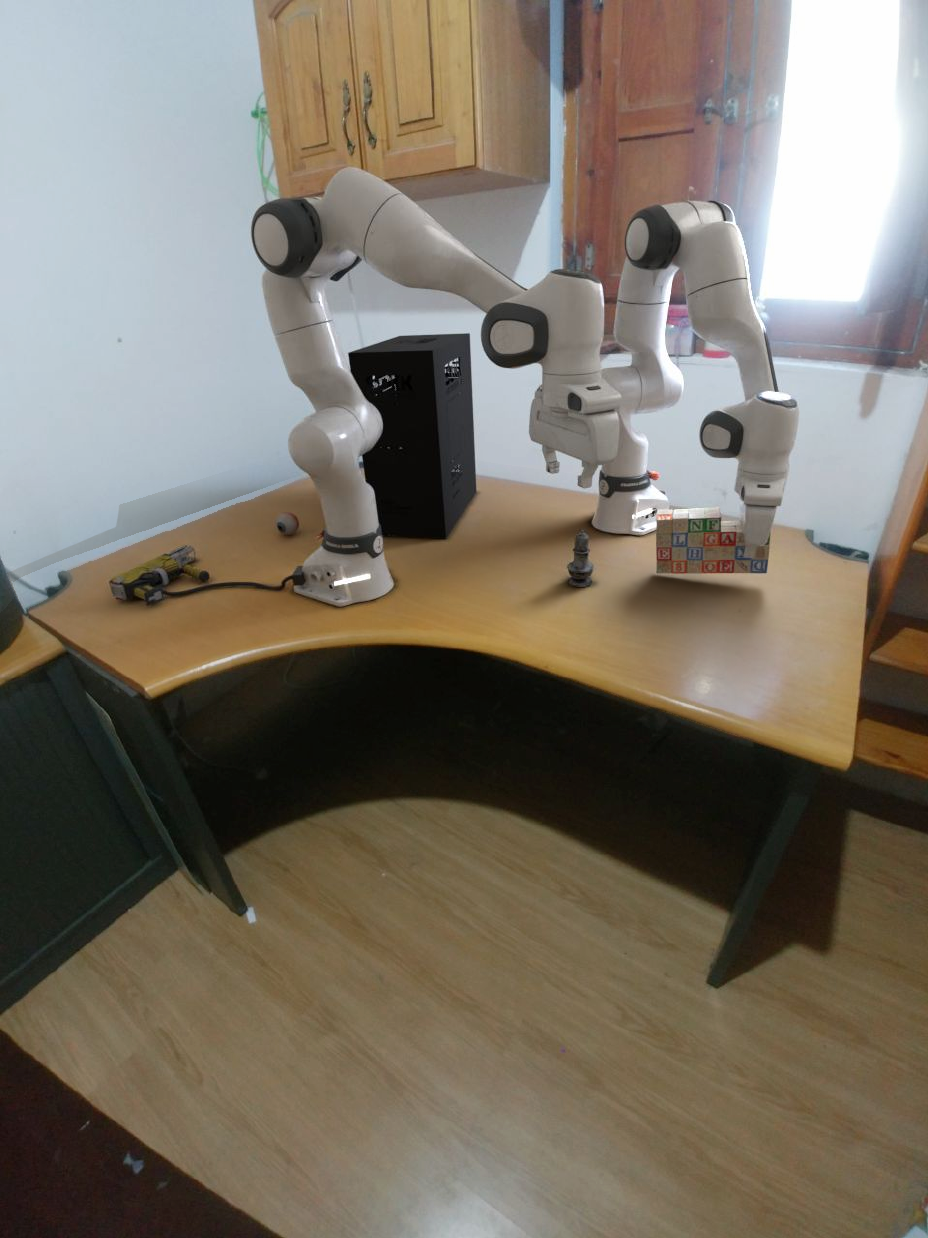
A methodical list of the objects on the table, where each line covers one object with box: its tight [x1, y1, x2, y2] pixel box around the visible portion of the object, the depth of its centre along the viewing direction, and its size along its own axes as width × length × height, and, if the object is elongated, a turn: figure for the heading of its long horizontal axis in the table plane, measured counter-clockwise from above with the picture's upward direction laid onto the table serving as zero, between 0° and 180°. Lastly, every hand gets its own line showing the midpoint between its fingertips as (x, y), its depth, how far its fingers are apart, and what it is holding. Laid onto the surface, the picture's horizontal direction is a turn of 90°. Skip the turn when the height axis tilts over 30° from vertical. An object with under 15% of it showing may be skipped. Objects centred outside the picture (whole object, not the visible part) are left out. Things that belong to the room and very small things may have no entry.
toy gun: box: [108, 544, 210, 607], centre depth 141 cm, size 5×24×15 cm
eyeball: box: [275, 511, 300, 536], centre depth 163 cm, size 6×6×6 cm
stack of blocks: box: [655, 507, 772, 575], centre depth 124 cm, size 21×6×12 cm, turn 71°
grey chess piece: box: [566, 529, 595, 588], centre depth 129 cm, size 6×6×12 cm
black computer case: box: [347, 332, 477, 540], centre depth 163 cm, size 38×20×45 cm, turn 167°
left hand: (567, 479), depth 99 cm, fingers open, 8 cm apart
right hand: (747, 549), depth 123 cm, fingers closed on stack of blocks, 6 cm apart
